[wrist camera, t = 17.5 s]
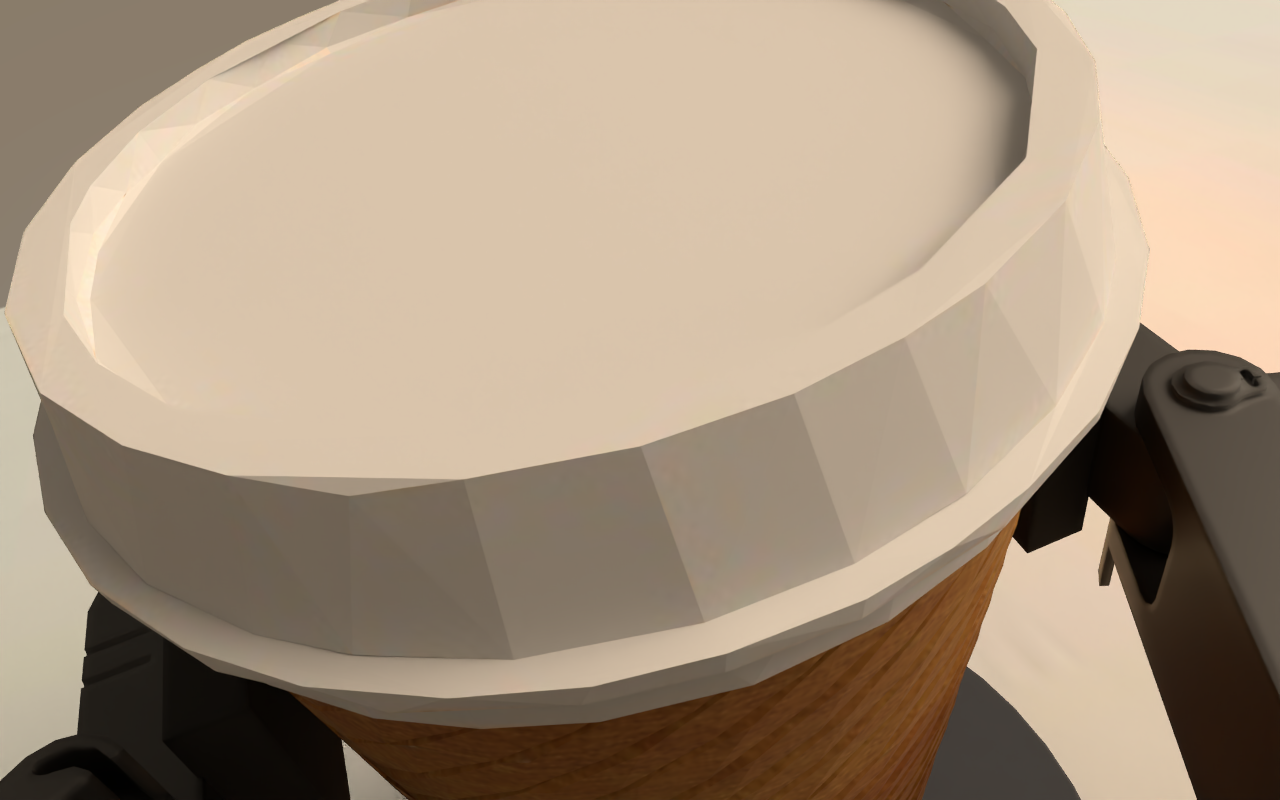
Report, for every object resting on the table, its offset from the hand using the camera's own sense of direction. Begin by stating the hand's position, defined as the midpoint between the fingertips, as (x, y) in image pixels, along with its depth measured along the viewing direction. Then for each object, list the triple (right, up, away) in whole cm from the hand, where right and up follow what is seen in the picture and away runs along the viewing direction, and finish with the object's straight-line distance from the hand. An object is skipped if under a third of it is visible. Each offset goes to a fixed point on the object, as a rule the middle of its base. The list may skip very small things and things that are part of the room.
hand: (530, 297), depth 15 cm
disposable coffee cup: (+3, -8, +1) cm, 9 cm away
